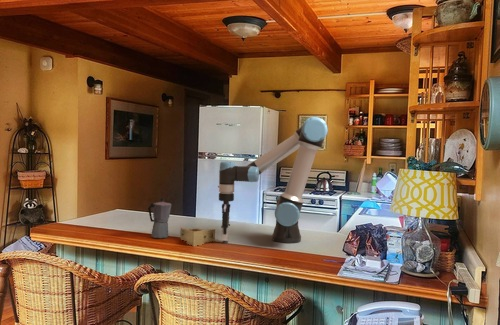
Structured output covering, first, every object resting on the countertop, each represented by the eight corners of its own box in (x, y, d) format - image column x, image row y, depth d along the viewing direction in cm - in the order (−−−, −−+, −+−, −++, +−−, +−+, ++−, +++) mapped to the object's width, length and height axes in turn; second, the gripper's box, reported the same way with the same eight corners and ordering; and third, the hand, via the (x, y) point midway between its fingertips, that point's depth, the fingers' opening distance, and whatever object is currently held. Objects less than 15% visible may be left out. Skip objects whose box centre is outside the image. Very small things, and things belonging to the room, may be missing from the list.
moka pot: (176, 235, 212) (177, 198, 211) (155, 241, 199) (156, 201, 198) (163, 233, 217) (163, 196, 216) (141, 238, 204) (142, 199, 203)
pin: (230, 242, 200) (230, 217, 200) (224, 243, 198) (225, 217, 197) (225, 241, 203) (226, 215, 202) (220, 242, 200) (220, 216, 200)
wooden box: (217, 242, 201) (218, 228, 201) (193, 246, 191) (193, 231, 191) (200, 236, 212) (200, 223, 212) (176, 240, 202) (176, 226, 202)
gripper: (220, 190, 207) (219, 236, 208) (217, 194, 192) (215, 243, 193) (235, 191, 207) (233, 236, 208) (232, 194, 191) (231, 243, 192)
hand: (225, 239), depth 200 cm, fingers closed on pin, 3 cm apart
